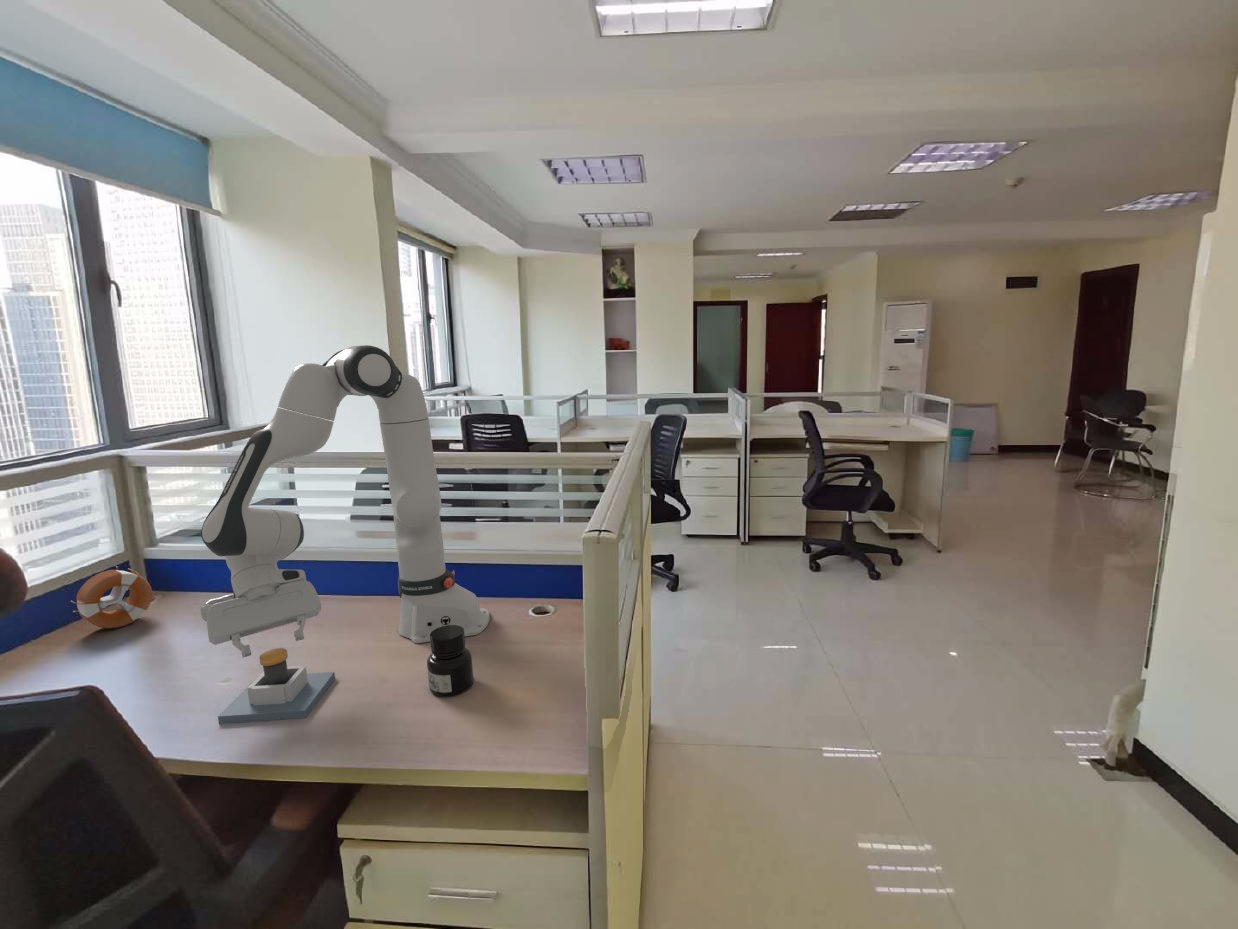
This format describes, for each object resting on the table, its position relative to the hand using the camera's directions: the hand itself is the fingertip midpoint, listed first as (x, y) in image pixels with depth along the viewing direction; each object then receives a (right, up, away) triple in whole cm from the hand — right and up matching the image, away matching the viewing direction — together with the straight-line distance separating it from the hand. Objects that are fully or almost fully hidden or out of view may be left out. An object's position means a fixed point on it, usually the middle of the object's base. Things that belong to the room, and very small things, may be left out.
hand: (274, 647), depth 118 cm
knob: (+1, -9, 0) cm, 9 cm away
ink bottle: (+35, -10, +4) cm, 36 cm away
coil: (-64, -6, +38) cm, 75 cm away
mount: (+1, -11, +1) cm, 11 cm away
